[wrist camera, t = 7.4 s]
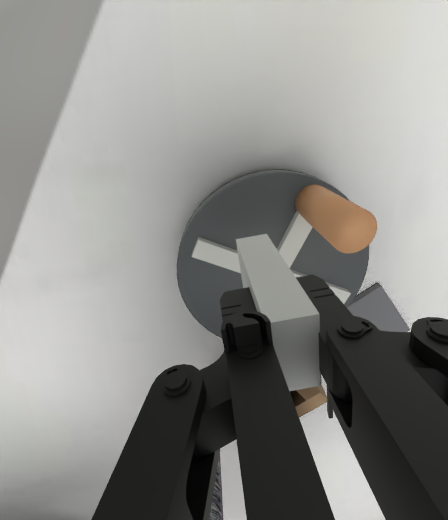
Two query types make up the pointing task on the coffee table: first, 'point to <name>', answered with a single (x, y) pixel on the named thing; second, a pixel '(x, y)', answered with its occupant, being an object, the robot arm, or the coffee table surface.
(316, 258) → the handwheel
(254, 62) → the coffee table surface
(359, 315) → the rest mat
